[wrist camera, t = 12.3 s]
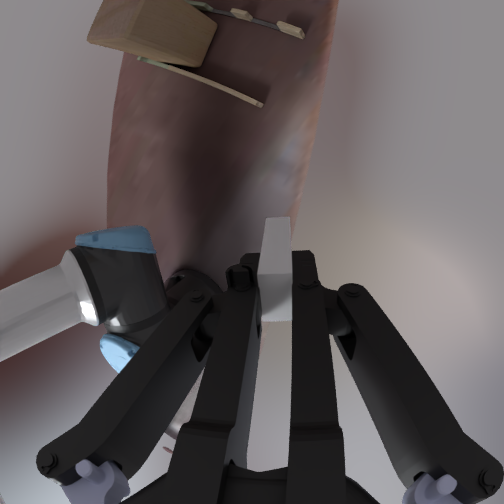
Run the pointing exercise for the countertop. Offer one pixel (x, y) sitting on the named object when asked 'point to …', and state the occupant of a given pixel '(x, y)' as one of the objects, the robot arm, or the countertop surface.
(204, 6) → the trap lane
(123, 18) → the wooden block
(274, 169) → the countertop surface
